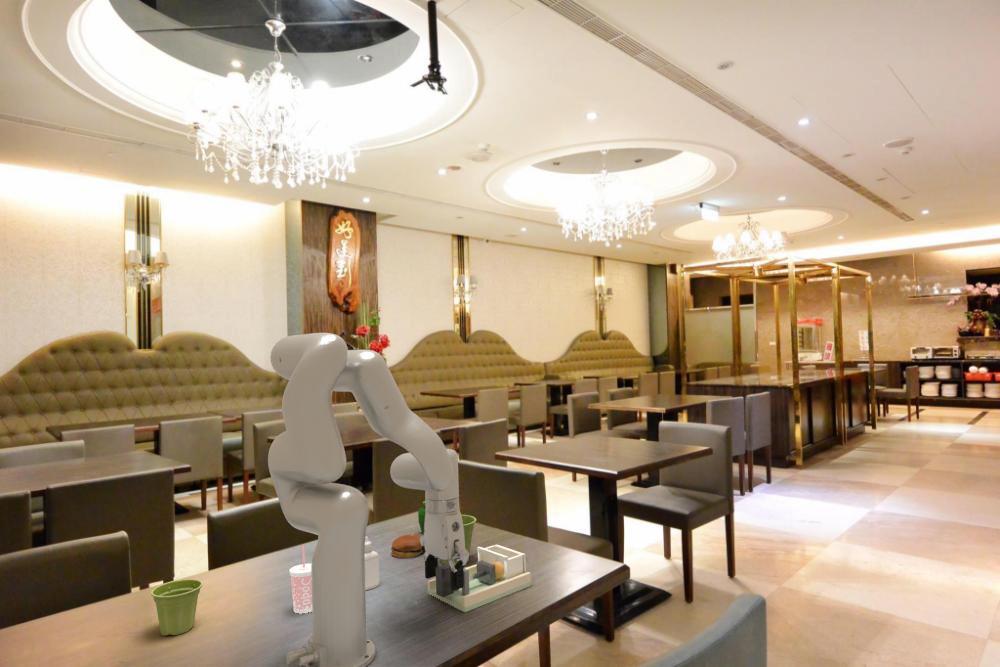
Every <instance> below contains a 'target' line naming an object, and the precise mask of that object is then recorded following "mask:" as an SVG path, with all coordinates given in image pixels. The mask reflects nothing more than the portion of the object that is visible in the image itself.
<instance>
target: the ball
mask: <svg viewBox="0 0 1000 667" xmlns="http://www.w3.org/2000/svg"><path fill="white" fill-rule="evenodd" d="M492 565H495V574H496V580H499V579H501V578H502V577H503V576H504V574H505V573H504V566H503V564H501V563H500V562H494V563H492Z"/></svg>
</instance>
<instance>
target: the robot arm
mask: <svg viewBox="0 0 1000 667" xmlns="http://www.w3.org/2000/svg"><path fill="white" fill-rule="evenodd" d="M270 363H271V367H272V369H273V370H274V372H275V373H276V374H277V375H278V376H280V377H282V378H283V379H285V380H288V382H287V384H286V386H285V388H284V392H283V395H282V400H281V414H282V419H283V422H284V426H285V430H284V431H283V432H281V433H280V434H278V435H277V436H276V437H275V438H274V439H273V441H272V443H271V445H270V448H269V449H268V455H267V466H268V470H269V474H270V477H271V481H272V484H273V486H274V487H273V488H274V490H275V492H276V496H277V498H278V502H279V504H280V508H281V510H282V511H281V512H282V513H283V515H284V517H285V519H286V521H287V522H288V523H289V524H290V526H291V527H292V528H295V529H296V530H299V531H303V532H306V533H310V534H314V535H317V537H318V538H317V543H316V545H315V548H314V551H313V553H312V556H311V557H312V558H311V577H312V611H311V612H312V614H311V615H312V616H311V618H312V636H310V637H307V639H306V640H307V643H306V644H304V645H303V646H302V647H301V648H299V649H295V650H292V651H290V652H287V653H286V654H285V664H286V665H287V666H290V665H293V664H295V663H298V666H299V667H367V666H368V665H369V664H370V663H371V662H373V660H374V659H375V657H376V653H377V651H376V646H375V643H374V642H373V641H372V640H370V639H369V638H367V637H368V636H367V600H366V597H367V595H366V593H367V592H366V591H367V590H365V537H367V535H366V534H367V529H368V523H369V517H370V507H369V503H368V500H367V498H366V496H365V494H364V493H363V492H362V491H360V490H359V489H358V488H356V487H354V486H351V485H346V484H344V483H343V484H341V483H337V482H336V481H337V480H338V479H339V480H340V478H341V477H342V476H343V474H344V473H345V471H346V467H347V456H346V451H345V447H344V443H343V440H342V437H341V434H340V431H339V430H340V429H339V427H338V423H337V419H336V417H335V413H334V409H333V401H332V400H333V392H341V393H342V392H345V393H346V392H350V393H351V394H352V395H353V397H354V399H355V401H356V403H357V405H358V406H359V408H360V410H361V412H362V413H363V415H364V418H365V419H366V421H367V422H368V425H369V427H370V428H371V429H372V431H374V432H375V433H377V434H378V435H379V436H381V437H383V438H385V439H387V440H388V441H389V442H393V443H395V444H397V445H399V446H400V447H402V448H403V449H405V450H406V451H407V452H405V453H402V454H400V455H399V456H397V457H396V458H395V459H394V460H393V461H392V463H391V466H390V467H389V468H390V469H389V471H390V472H389V474H390V477H391V480H392V481H393V483H395V484H396V485H397V486H399V487H402V488H405V489H410V490H418V491H425V492H424V493H425V494H424V496H425V500H424V501H425V503H426V504H425V507H426V514H425V524H424V533H423V535H420V536H421V537H420V542H421V546H422V551H423V552H422V553H423V556H422V557H423V560H424V577H425V578H426V580H428V579H429V580H430V579H433V578H436V567H437V566H439V559H440V560H441V559H443V560H445V561H448V562H449V564H450V566H451V569H452V571H451V572H450V584H451V590H452V591H454V590H457V589H460V588H463V587H464V570H463V569H465V568H466V566H467V565H468V563H467V561H468V557H469V558H470V554H469V552H468V551H467V550H466V549H465V537H464V527H463V521H462V516H461V515H462V513H461V512H460V498H459V497H460V494H459V492H460V491H459V489H460V488H459V485H460V484H459V455H458V453H457V451H456V450H454V449H452V448H446V446H445V444H444V442H443V440H442V439H441V437H440V436H439V434H437V433H436V431H435V430H434V429H433V428H431V426H429V425H428V424H427V423H426V422H425V421H424V420H423V419H422V418H421V417H420V416H418V415H417V414H416V413H415V412H413V411H412V410H411V409H410V407H409V406H408V404H407V402H406V400H405V398H404V396H403V394H402V393H401V390H400V388H399V387H398V384H397V383H396V381H395V379H394V376H393V374H392V373H391V370H390V369H389V366H388V365H387V362H386V360H385V359H384V357H383V356H382V355H381V354H380V353H379V352H377V351H375V350H373V349H349V348H348V346H347V343H346V341H345V340H344V339H343V338H342V337H341V336H340V335H338V334H335V333H330V332H312V333H306V334H305V333H303V334H294V335H287V336H284V337H283V338H281V339H279V340H278V341H277V342H275V343H274V346H273V347H272V349H271V352H270ZM451 555H455V556H452V557H451ZM454 560H457V561H458V562H457V564H456V565H455V563H454Z"/></svg>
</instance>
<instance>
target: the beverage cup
mask: <svg viewBox="0 0 1000 667" xmlns="http://www.w3.org/2000/svg"><path fill="white" fill-rule="evenodd" d="M301 546H302V548H301V549H302V550H301V553H302V564H297V565H294V566H292V567H290V568H289V570H288V571H289V576H290V582H291V594H292V604H293V605H292V606H293V607H292V608H293V613H294V612H295V614H296V613H299V614H298V615H302V613H305V614H308V612H309V613H311V612H312V577H311V563H312V562H311V563H306V555H305V554H306V550H305V548H306V547H305V544H302V545H301Z"/></svg>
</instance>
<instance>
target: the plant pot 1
mask: <svg viewBox="0 0 1000 667" xmlns="http://www.w3.org/2000/svg"><path fill="white" fill-rule="evenodd" d="M203 585H204V584H203V581H202V580H199V579H194V578H188V579H186V578H185V579H179V580H172V581H169V582H165V583H163V584H160V585H157V586H156V587H154V588H153V589H152V590H151V592H150V594H151V596H152V598H153V601H154V602H155V606H156V611H157V612H156V613H157V618H158V626H159V632H160V634H161V635H162V636H165V637H167V636H168V635H172V636H177V635H182V634H184V633H187V632H189V631H190V630H191V629H192V627H194V626H195V620H196V612H197V605H198V599H199V594H200V592H201V588H202V587H203Z"/></svg>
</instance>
